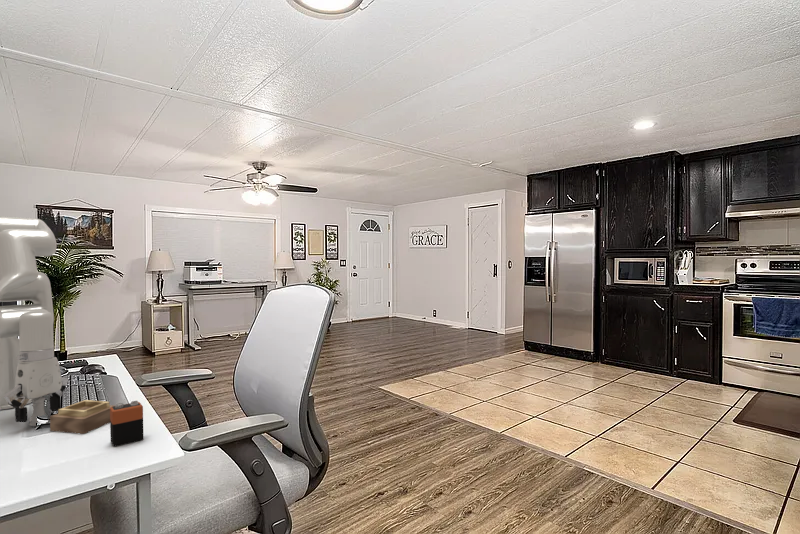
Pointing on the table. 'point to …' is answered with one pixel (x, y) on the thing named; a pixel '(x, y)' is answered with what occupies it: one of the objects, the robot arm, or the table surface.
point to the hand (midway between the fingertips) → (39, 415)
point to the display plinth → (81, 417)
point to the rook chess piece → (37, 410)
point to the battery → (126, 423)
